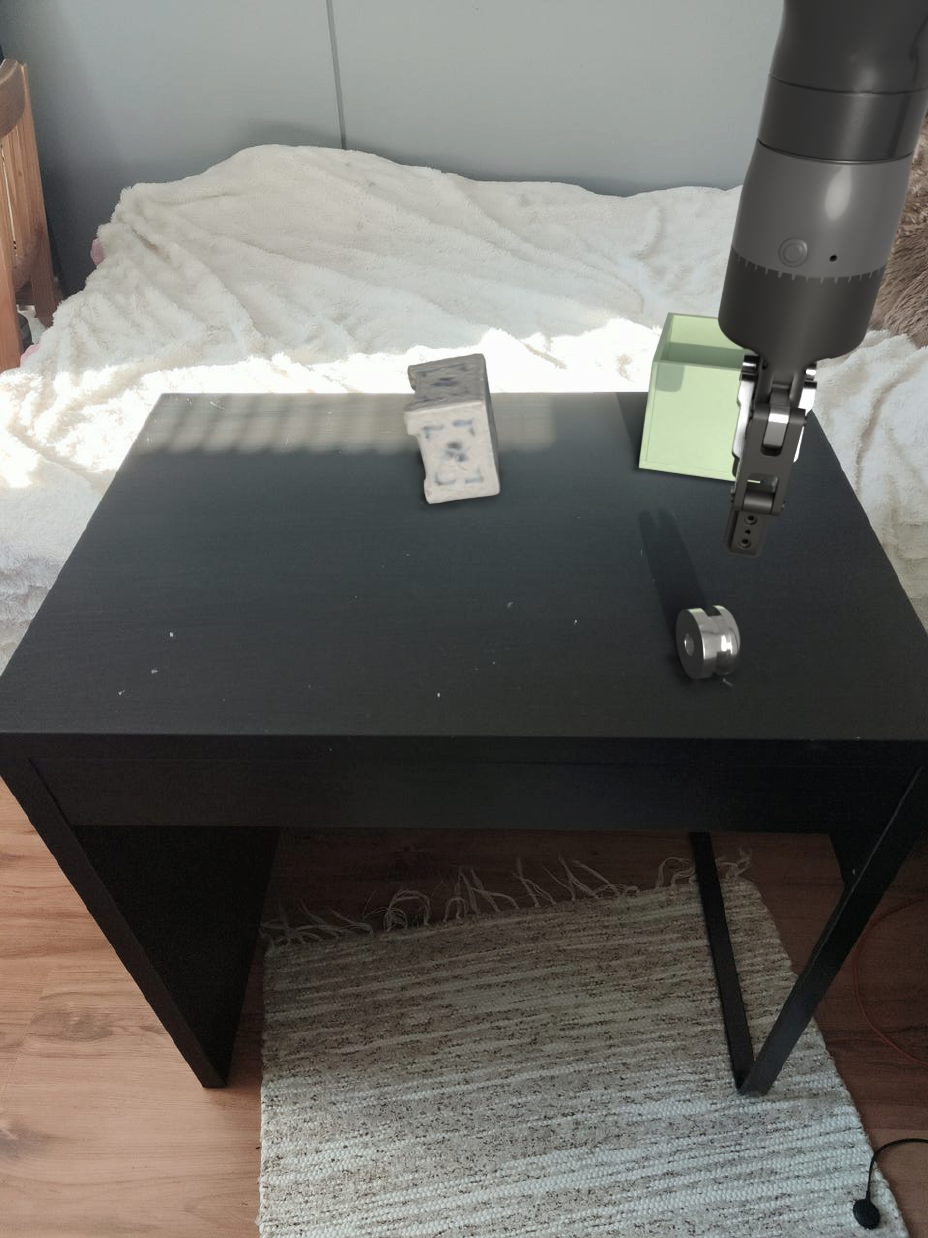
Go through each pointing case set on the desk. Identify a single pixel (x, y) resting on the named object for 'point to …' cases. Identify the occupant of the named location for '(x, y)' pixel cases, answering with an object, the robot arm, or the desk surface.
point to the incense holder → (454, 428)
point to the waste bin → (692, 399)
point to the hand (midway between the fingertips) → (744, 513)
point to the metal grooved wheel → (708, 641)
